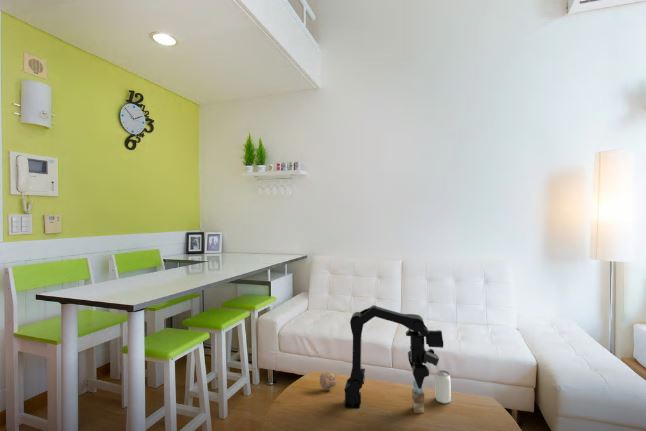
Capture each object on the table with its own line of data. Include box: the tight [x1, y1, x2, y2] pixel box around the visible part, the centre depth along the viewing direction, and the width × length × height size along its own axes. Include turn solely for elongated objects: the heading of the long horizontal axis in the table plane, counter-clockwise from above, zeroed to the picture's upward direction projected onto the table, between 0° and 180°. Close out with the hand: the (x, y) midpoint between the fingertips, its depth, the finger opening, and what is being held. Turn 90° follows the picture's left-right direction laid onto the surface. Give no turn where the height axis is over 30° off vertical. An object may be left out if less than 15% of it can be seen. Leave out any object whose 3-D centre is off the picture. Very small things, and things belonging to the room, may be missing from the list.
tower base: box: [412, 399, 425, 414], centre depth 144 cm, size 4×4×4 cm
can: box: [434, 369, 452, 405], centre depth 151 cm, size 6×6×12 cm
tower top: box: [411, 388, 425, 404], centre depth 144 cm, size 4×4×4 cm
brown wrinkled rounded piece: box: [319, 371, 337, 391], centre depth 162 cm, size 8×6×8 cm
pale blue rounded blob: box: [412, 379, 424, 394], centre depth 144 cm, size 4×4×4 cm
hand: (418, 382), depth 144 cm, fingers open, 9 cm apart
